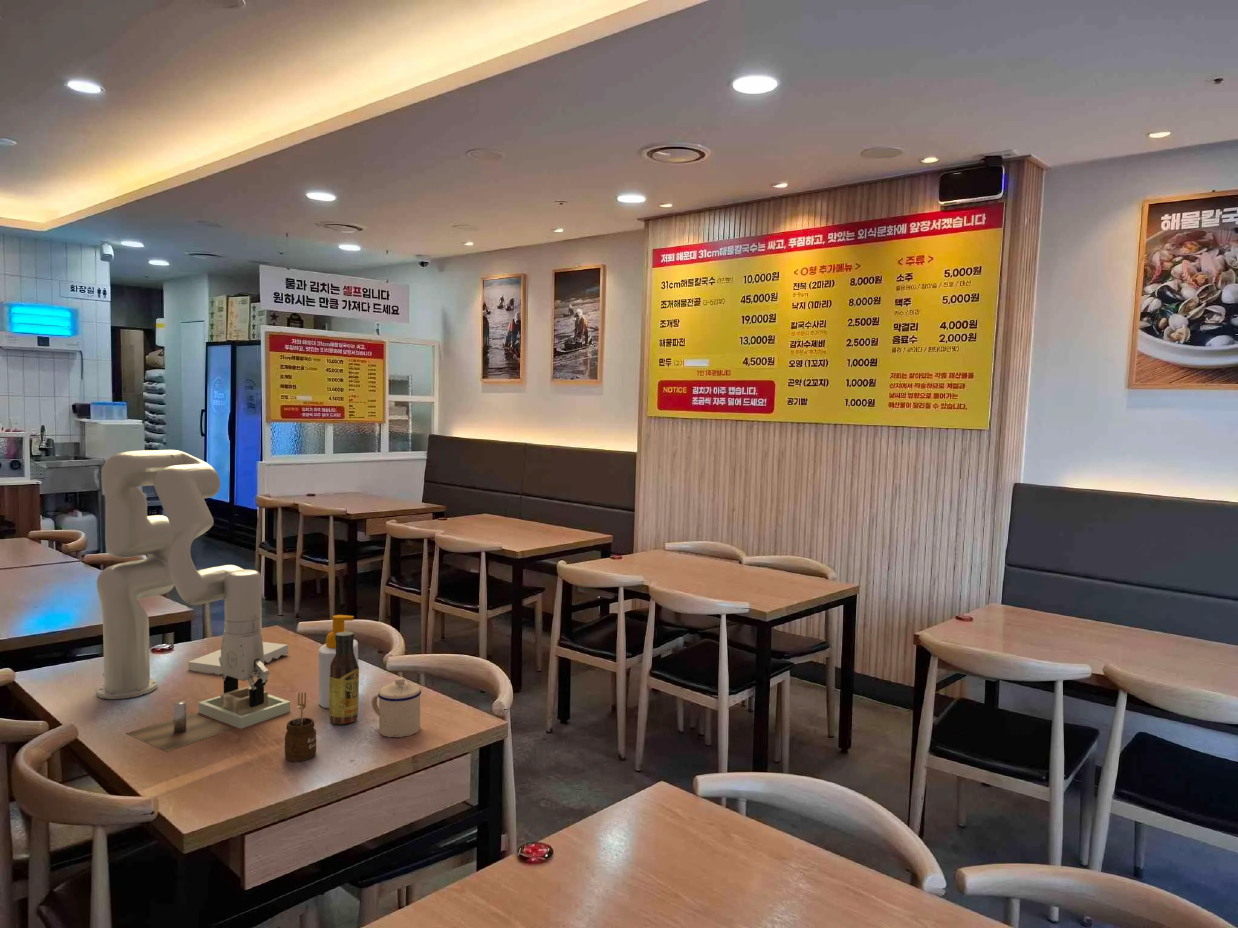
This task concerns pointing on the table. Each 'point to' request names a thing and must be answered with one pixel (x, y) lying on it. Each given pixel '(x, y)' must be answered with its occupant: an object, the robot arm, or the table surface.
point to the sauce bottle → (344, 681)
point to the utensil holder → (300, 736)
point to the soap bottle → (331, 657)
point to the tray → (241, 721)
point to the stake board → (168, 740)
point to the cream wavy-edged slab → (211, 660)
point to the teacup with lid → (398, 708)
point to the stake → (179, 717)
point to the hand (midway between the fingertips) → (243, 700)
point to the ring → (241, 701)
